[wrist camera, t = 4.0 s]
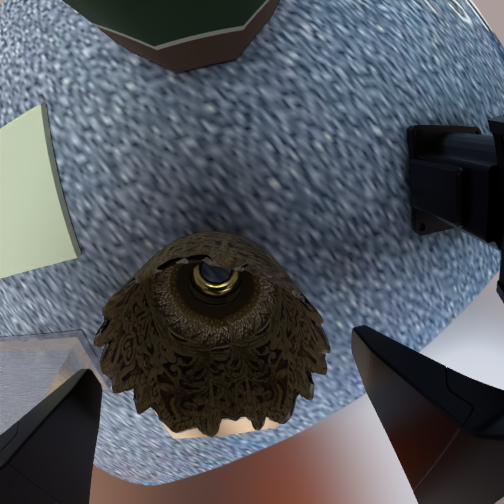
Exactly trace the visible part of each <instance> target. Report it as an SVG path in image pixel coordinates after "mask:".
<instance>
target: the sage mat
mask: <svg viewBox="0 0 504 504" xmlns="http://www.w3.org/2000/svg"><path fill="white" fill-rule="evenodd" d="M80 255H81V251H80V248H79V245H78V242H77V239H76V236H75V233H74V230H73V227H72V224H71V220H70V217H69V214H68V210H67V207H66V203H65V199H64V196H63V192H62V188H61V184H60V180H59V175H58V171H57V167H56V162H55V157H54V152H53V147H52V141H51V135H50V129H49V122H48V115H47V107H46V104H39V105H38V106H36V107H34V108H32V109H31V110H29V111H27V112H26V113H24V114H22V115H21V116H19V117H18V118H16V119H14V120H13V121H11V122H10V123H8V124H7V125H5V126H4V127H2V128H1V129H0V279H1V278H4V277H8V276H11V275H15V274H18V273H22V272H26V271H29V270H33V269H37V268H40V267H44V266H48V265H52V264H56V263H59V262H63V261H67V260H71V259H75V258H78V257H79V256H80Z"/></svg>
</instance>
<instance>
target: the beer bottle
mask: <svg viewBox="0 0 504 504" xmlns="http://www.w3.org/2000/svg"><path fill="white" fill-rule="evenodd" d="M63 1H64V2H65V3H67V4H68V5H69V6H71V7H72V8H73V9H75V10H76V11H77V12H79V13H80V14H81V15H83V16H84V17H85V18H86V19H88V20H89V21H90V22H92V23H93V24H94V25H95V26H97V27H98V28H99V29H100V30H102V31H103V32H104V33H105V34H106V35H108V36H109V37H110V38H111V39H113V40H114V41H115V42H116V43H118V44H119V45H121V46H122V47H124V48H125V49H127V50H128V51H130V52H132V53H135V54H137V55H139V56H141V57H144V58H146V59H148V60H150V61H152V62H155V63H157V64H159V65H161V66H163V67H165V68H167V69H169V70H171V71H173V72H175V73H179V72H183V71H187V70H190V69H194V68H198V67H202V66H207V65H211V64H216V63H220V62H225V61H230V60H235V59H238V57H239V56H240V55H241V53H242V52H243V51H244V50H245V48H246V47H247V46H248V45H249V43H250V42H251V41H252V40H253V38H254V37H255V36H256V35H257V34H258V32H259V31H260V30H261V29H262V28H263V27H264V25H265V24H266V23H267V22H268V21H269V20H270V18H271V16H272V15H273V13H274V11H275V9H276V8H277V6H278V4H279V1H280V0H63Z"/></svg>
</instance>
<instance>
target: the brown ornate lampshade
mask: <svg viewBox="0 0 504 504" xmlns="http://www.w3.org/2000/svg"><path fill="white" fill-rule="evenodd" d="M203 262H206V263H209V264H208V265H211V266H220V267H224V268H227V269H230V270H231V275H230V277H229V278H228V279H227V280H226V281H225V282H222V283H219V284H214V283H210V282H208V281H207V280H205V279H204V277H203V276H202V273H201V265H202V263H203ZM102 315H103V316H104V323H103V324H102V326H101V327H100V328H99V330H98V332H97V333H96V336H95V340H94V346H97V347H99V348H100V347H103V346H104V345H105V347H104V349H103V352H102V356H101V359H100V368H101V372H102V374H103V375H106V376H109V377H111V378H110V379H112V390H113V393H121V392H124V391H126V392H127V391H129V390H131V389H134V398H133V400H134V402H135V406H136V410H137V413H138V414H141V413H143V412H144V411H146V410H147V409H148V408H150V406H151V408H152V409H153V410H154V411H155V412H156V413H157V415H158V419H159V420H160V421H161V422H163V423H164V424H165V425H166V426H167V427H168V428H169V429H170V430H171V431H172V432H174V433H182V432H184V431H187V430H190V429H191V430H192V429H195V428H197V429H198V430H199V431H200V432H201V433H202V434H204V435H207V436H210V437H214V436H215V435H216V434H217V433H218V432H219V427H220V424H221V422H222V421H223V420H222V419H224V420H227V418H229V419H228V420H233V421H237V420H239V419H241V418H240V417H246V418H247V419H248V420H250V421H251V423H252V426H253V428H254V429H255V430H261V429H262V427H263V426H264V423H265V420H266V417H267V418H270V419H269V420H271V421H273V422H277V423H279V424H285V423H286V422H287V421H288V420H289V419H290V418H291V416H292V414H293V411H294V409H295V403H296V399H297V397H298V395H299V394H300V395H301V397H304V398H305V399H308V400H312V399H313V394H314V383H313V380H312V375H311V372H312V373H314V372H316V373H318V374H321V375H325V374H326V373H327V364H326V360H325V356H326V354H325V353H330V345H329V342H328V339H327V337H326V334H325V332H324V330H323V328H322V327H321V324H322V323H323V319H322V317H321V315H320V314H319V313H318V311H317V310H316V309H315V308H314V307H313V306H312V305H311V304H310V302H309V301H308V300H307V299H306V297H305V296H304V295H303V293H302V292H301V291H300V289H299V288H298V287H297V285H296V284H295V283H294V282H293V280H292V279H291V278H290V276H289V275H288V274H287V273H286V272H285V270H284V269H283V268H282V267H281V266H280V265H279V263H278V262H277V261H276V260H275V259H274V258H273V257H272V256H271V255H270V254H268V253H267V252H266V251H265V250H264V249H263V248H261V247H260V246H258V245H257V244H255V243H253V242H251V241H250V240H248V239H245V238H243V237H240V236H238V235H234V234H231V233H225V232H213V231H211V232H201V233H195V234H192V235H188V236H185V237H182V238H180V239H178V240H176V241H174V242H172V243H171V244H169V245H167V246H166V247H164V248H163V249H162V250H160V251H159V252H158V253H157V254H155V255H154V256H153V257H152V258H151V259H150V260H149V261H148V262H147V263H146V264H145V265H144V266H143V267H142V268H141V269H140V270H139V271H138V272H137V273H136V274H135V275H134V276H133V277H132V278H131V279H130V280H129V281H128V282H127V283H126V284H125V285H124V286H123V287H122V288H121V289H120V290H119V291H117V292H116V293H115V294H114V295H113V296H112V297H111V298H110V299H109V301H108V302H107V303H106V305H105V307H104V308H103V311H102ZM221 420H222V421H221Z"/></svg>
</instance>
